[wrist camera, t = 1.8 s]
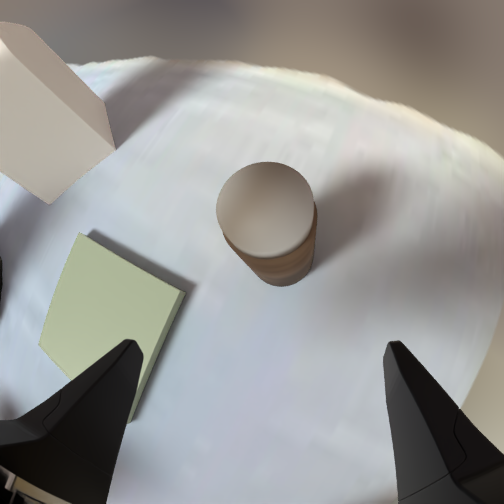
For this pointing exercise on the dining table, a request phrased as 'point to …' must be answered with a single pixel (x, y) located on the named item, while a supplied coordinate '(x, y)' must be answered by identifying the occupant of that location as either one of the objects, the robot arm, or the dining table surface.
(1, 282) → the beer stein
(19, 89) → the milk
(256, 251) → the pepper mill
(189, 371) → the dining table surface
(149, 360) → the serving board
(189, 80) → the dining table surface
